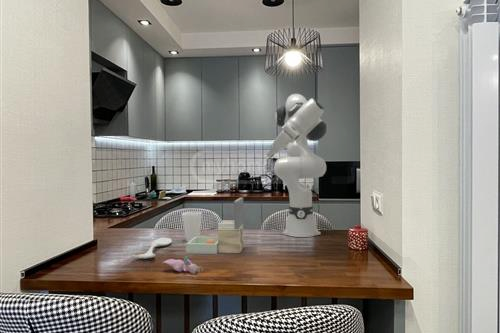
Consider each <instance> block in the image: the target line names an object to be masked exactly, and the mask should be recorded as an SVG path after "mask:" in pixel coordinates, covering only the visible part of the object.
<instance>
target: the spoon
mask: <svg viewBox="0 0 500 333" xmlns="http://www.w3.org/2000/svg"><path fill="white" fill-rule="evenodd" d="M172 242H173V239H172V238H170V237H159V238H157V239H154V240H153V241H152V242H151V244H150V248H149V249H148V250H147V252H145V253H141V254H132V255H131V258H136V259H152V258H154V257H155V256H156V254H155V253H154V252H153V250H154V248H157V247H165V246H168V245H170V244H171V243H172Z"/></svg>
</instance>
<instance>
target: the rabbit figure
mask: <svg viewBox="0 0 500 333" xmlns="http://www.w3.org/2000/svg"><path fill="white" fill-rule="evenodd" d="M185 263H186V264H189V265H186V264H185ZM162 264H167V265H168V266H170V267H172V268H173V270H175V271H177V272H179V273H180V272H181V273H182V272H183V271H184V272H190V273H191V274H192V275H195V274H196V273H197V274H198V275H200V274H201V272H203V271H204V267H202V266H197V264H195V263H192V261H191V260H190V259H189V256H184V258H183V260H181V259H173V258H170V259H167V260H164V261H162ZM200 269H201V270H200Z"/></svg>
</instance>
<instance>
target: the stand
mask: <svg viewBox="0 0 500 333" xmlns="http://www.w3.org/2000/svg"><path fill="white" fill-rule="evenodd" d="M217 237H218V253H220V254H221V253H222V254H241V253H242V251H243V249H244V226H243V227H242V228H241V229H240V230H218V231H217ZM218 253H217V254H218Z"/></svg>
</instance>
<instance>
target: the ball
mask: <svg viewBox="0 0 500 333" xmlns="http://www.w3.org/2000/svg"><path fill="white" fill-rule="evenodd" d="M206 244H215V241H214V240H213V239H208V240H207V241H206Z"/></svg>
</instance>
